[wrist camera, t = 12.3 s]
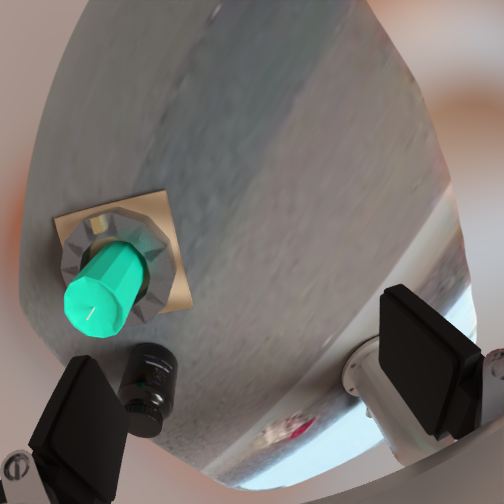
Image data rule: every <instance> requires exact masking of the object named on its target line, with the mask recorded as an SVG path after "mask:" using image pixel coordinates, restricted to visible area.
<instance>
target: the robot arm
mask: <svg viewBox="0 0 504 504" xmlns="http://www.w3.org/2000/svg"><path fill="white" fill-rule="evenodd" d="M341 378H342V384H343V386H344V388H345V390H346V391H347V392H348V393H349V394H351V395H353V396H357V397H361V398H362V400H363V402H364V403H365V405H366V407H367V410H366V416H367V417H369V418H373V419H374V421H375V423H376V424H377V426H378V428H379V430H380V431H381V433H382V435H383V437H384V438H385V440H386V442H387V444H388V445H389V447H390V449H391V451H392V453H393V454H394V456H395V458H396V459H397V461H399V463H401V464H402V465H403V466H405V468H403V469H401V470H399V471H396V472H394V473H392V474H389V475H387V476H385V477H382V478H380V479H377V480H375V481H372V482H369V483H367V484H364V485H361V486H359V487H356V488H353V489H350V490H347V491H344V492H341V493H338V494H335V495H332V496H328V497H325V498H321V499H317V500H314V501H310V502H306V503H303V504H504V348H502V349H496V350H493V351H491V352H490V353H488V354H487V355H486V357H484V356H483V355H482V354H481V349H480V348H479V347H478V346H476V345H475V344H474V343H473V342H472V341H471V340H470V339H468V338H467V337H466V336H465V335H464V334H463V333H462V332H460V331H459V330H458V329H457V328H456V327H454V326H453V325H452V324H451V323H450V322H449V321H447V320H446V319H445V318H444V317H443V316H441V315H440V314H439V313H438V312H437V311H435V310H434V309H433V308H432V307H430V306H429V305H428V304H427V303H426V302H424V301H423V300H422V299H421V298H419V297H418V296H417V295H416V294H414V293H413V292H412V291H411V290H409V289H408V288H407V287H405V286H404V285H403V284H398V285H395V286H392V287H389V288H386V289H385V290H384V294H382V295H381V296H380V326H379V336H378V337H375V338H373V339H371V340H369V341H368V342H366V343H364V344H363V345H362V346H361V347H359V348H358V349H357V350H356V351H355V352H354V353H353V354H352V355H351V357H350V358H349V359H348V361H347V362H346V364H345V366H344V368H343V371H342V377H341ZM129 424H130V418H129V415H128V413H127V411H126V410H125V408H124V407H123V405H122V404H121V402H120V400H119V399H118V397H117V396H116V394H115V392H114V391H113V389H112V387H111V386H110V384H109V382H108V381H107V379H106V377H105V375H104V374H103V372H102V370H101V368H100V367H99V365H98V363H97V361H96V360H95V359H92V358H91V357H90V356H88V355H84V356H76V357H73V358H72V359H71V360H70V362H69V364H68V366H67V368H66V369H65V371H64V373H63V375H62V377H61V379H60V380H59V382H58V384H57V386H56V388H55V390H54V392H53V394H52V396H51V398H50V400H49V401H48V403H47V405H46V407H45V409H44V412H43V414H42V416H41V418H40V420H39V422H38V424H37V426H36V428H35V430H34V432H33V435H32V437H31V439H30V441H29V443H28V445H29V447H30V448H31V449H32V450H33V453H32V455H31V454H30V453H29V452H28V451H25V450H16V451H14V452H12V453H10V454H9V455H8V456H7V457H6V458H5V459H4V461H3V462H2V465H1V468H0V474H1V480H0V504H111V501H114V499H115V496H116V490H117V484H118V478H119V473H120V468H121V462H122V457H123V452H124V447H125V443H126V438H127V433H128V429H129Z"/></svg>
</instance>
